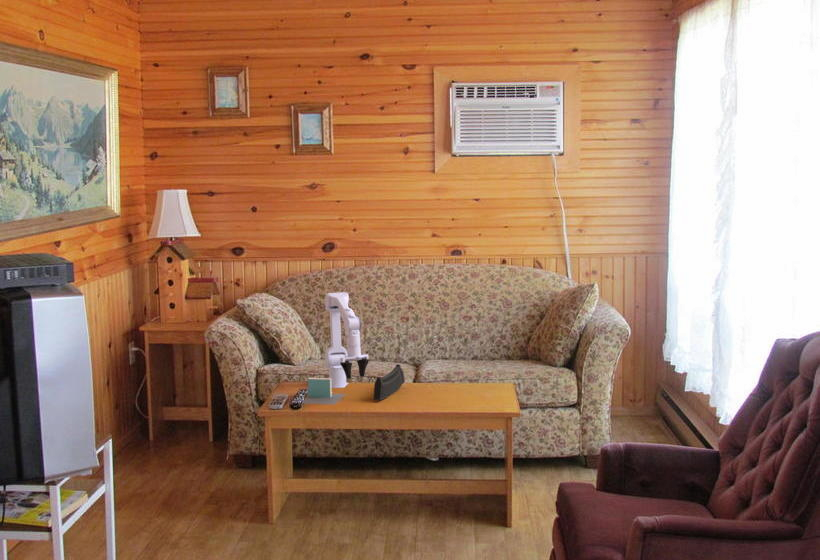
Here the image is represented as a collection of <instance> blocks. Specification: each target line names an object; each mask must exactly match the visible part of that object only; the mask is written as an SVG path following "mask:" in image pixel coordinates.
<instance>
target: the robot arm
mask: <svg viewBox="0 0 820 560" xmlns="http://www.w3.org/2000/svg"><path fill="white" fill-rule="evenodd" d="M349 297H350V296H349V293H348V292H347V291H343V292H342V291H341V292H326V294H325V295H324V305H325V306H324V307H325V310H326V311H328V313H329V326H330V327H329V328H330V346H329V347H328V348H327V349H326V350H325V354H324V355H325V356H324V363H325V366H326V367H327V368H328V378H331V382H332V388H333V389H334V388H335V389H344V388H346V386H348V385H349V382H347V379H349V380H350V379H352V367H353V362H355V361H356V362H357V366H358V373H359V377H360V378H361V377H363V378H364V377H365V373H366V369H367V366H368V364H369V362H370V360H369V354H366V353H365V354H362V351H361V349H362V348H361V347H362V346H361V333H360V332H361V330H362V320H361V318H360V317H359V316H356V314H355V312H354V310H353V309H352V308H351V307H349V305H348V304H349V302H350V298H349ZM341 320H342V321H343V328H344V332H345V336H346V348H345V347H344V346H342V328H341V325H342V324H341Z"/></svg>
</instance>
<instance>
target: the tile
mask: <svg viewBox="0 0 820 560" xmlns="http://www.w3.org/2000/svg"><path fill="white" fill-rule="evenodd" d="M332 391H333V389H332V382H331V378H329V377H324V378H323V377H308V378H307V393H308V397H325V398H331V397H332V394H333V392H332Z"/></svg>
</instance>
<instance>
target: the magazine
mask: <svg viewBox="0 0 820 560" xmlns="http://www.w3.org/2000/svg"><path fill="white" fill-rule="evenodd" d="M375 379H376V380H375V382H374V385H373V386H374V387H373V397H372V399H373V400H374V401H381V400H383V399H387V398H389V397H388V396H390V395H391V394H393V393H394V392H395V393H397V391H398V390H399V389H400V388H401V387H402V385H403V384H404V383H405V374H404V371H403V368H402V367H401V364H398V363H397V364H396V365H395V367H394V368H393V369H392V370H391V371H390V372H389V373H388V374H386V375H385V376H383V377H380V376H377V377H376V378H375ZM395 393H394V394H395ZM394 394H393V395H394ZM391 396H392V395H391ZM391 396H390V397H391Z"/></svg>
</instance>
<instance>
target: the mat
mask: <svg viewBox="0 0 820 560" xmlns="http://www.w3.org/2000/svg"><path fill="white" fill-rule="evenodd" d="M345 395H346V393H332V397H331V398H325V397H308V396H307V397H306V398H305V400H304V402H303V403H302V404H310V405H311V404H312V405H334V406H335V405H336V404H337V403H338V402H339V401H340V400H342V399H343V398H344V396H345ZM289 404H292V403H291V401H290V402H289Z"/></svg>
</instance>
